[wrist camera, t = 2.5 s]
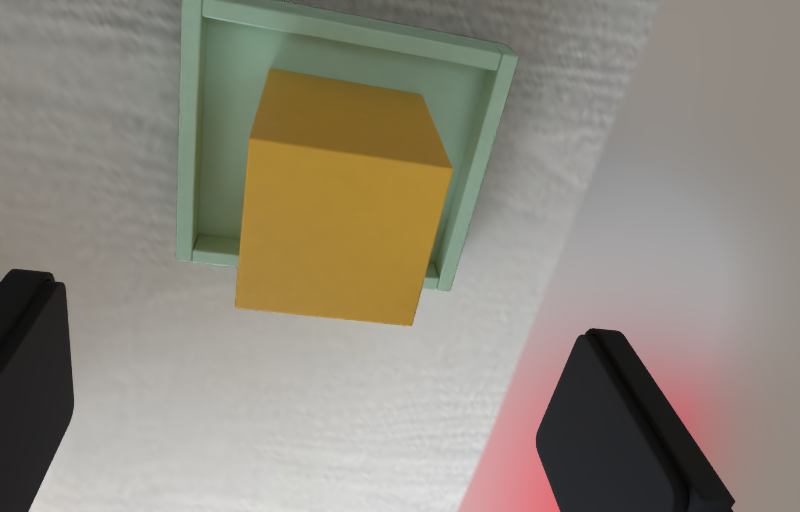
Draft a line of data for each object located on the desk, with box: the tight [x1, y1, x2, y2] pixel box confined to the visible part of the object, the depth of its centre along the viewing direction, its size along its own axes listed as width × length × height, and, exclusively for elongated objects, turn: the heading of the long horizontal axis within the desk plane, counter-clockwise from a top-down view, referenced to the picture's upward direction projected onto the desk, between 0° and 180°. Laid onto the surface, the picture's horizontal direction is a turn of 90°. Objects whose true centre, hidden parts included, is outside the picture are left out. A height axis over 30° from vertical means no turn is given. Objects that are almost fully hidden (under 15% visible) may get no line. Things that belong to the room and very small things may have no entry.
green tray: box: [176, 0, 518, 291], centre depth 19 cm, size 9×8×2 cm
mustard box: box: [235, 68, 453, 326], centre depth 17 cm, size 4×4×6 cm
